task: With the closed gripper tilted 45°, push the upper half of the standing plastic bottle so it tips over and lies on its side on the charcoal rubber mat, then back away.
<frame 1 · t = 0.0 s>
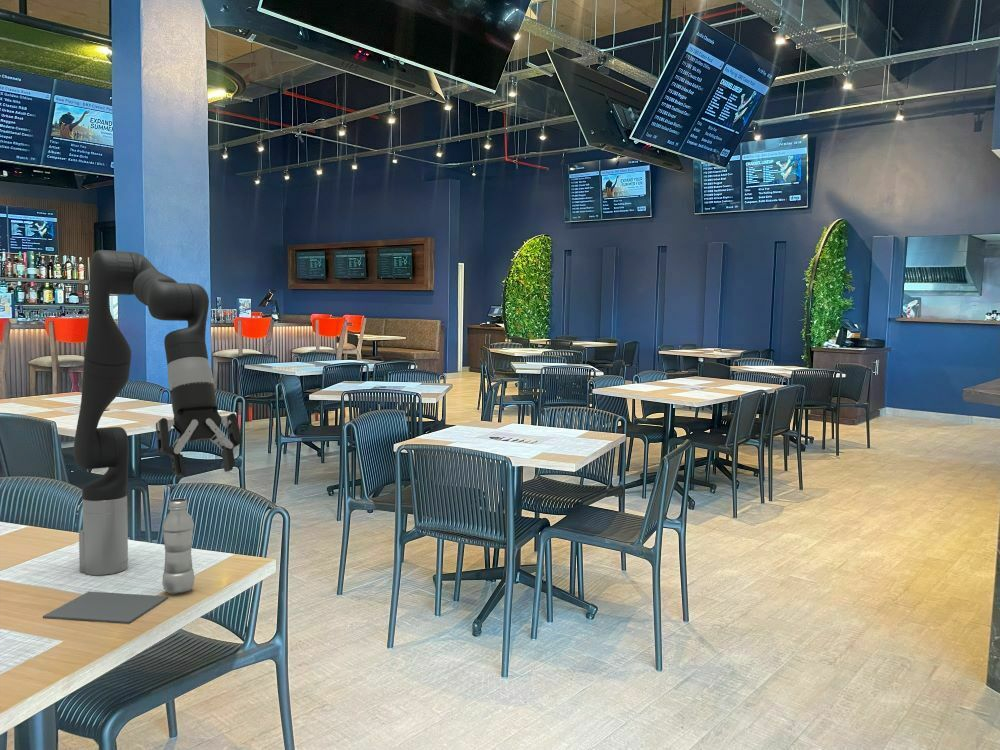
hand: (205, 473, 137), 31 cm above the table, tool tilted 20°, fingers open, 8 cm apart
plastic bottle: (178, 592, 166), on the table
rubber mat: (108, 607, 156), on the table
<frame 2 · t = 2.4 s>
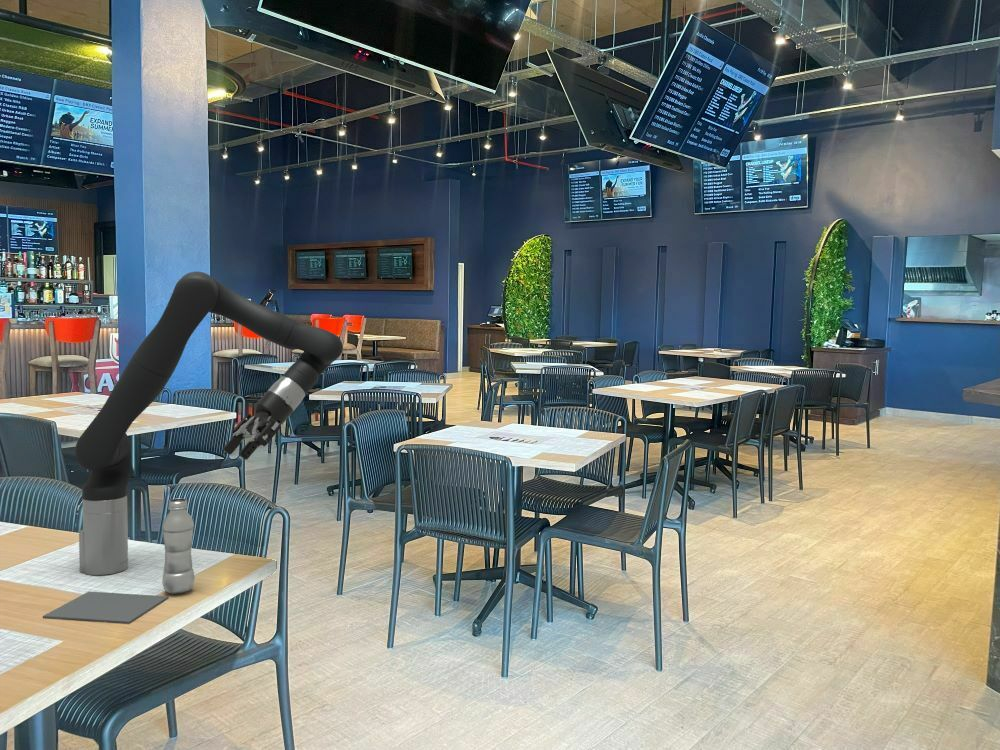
hand: (234, 454, 173), 29 cm above the table, tool tilted 45°, fingers open, 8 cm apart
nothing on the table moved.
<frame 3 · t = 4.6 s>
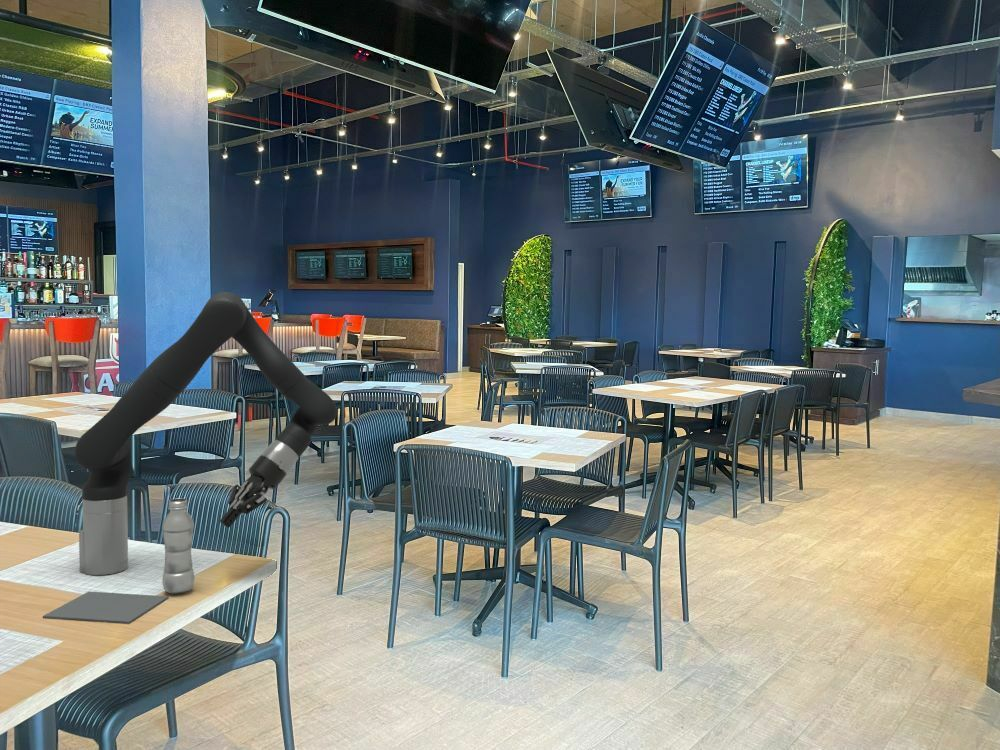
hand: (224, 524, 172), 13 cm above the table, tool tilted 45°, fingers closed
nothing on the table moved.
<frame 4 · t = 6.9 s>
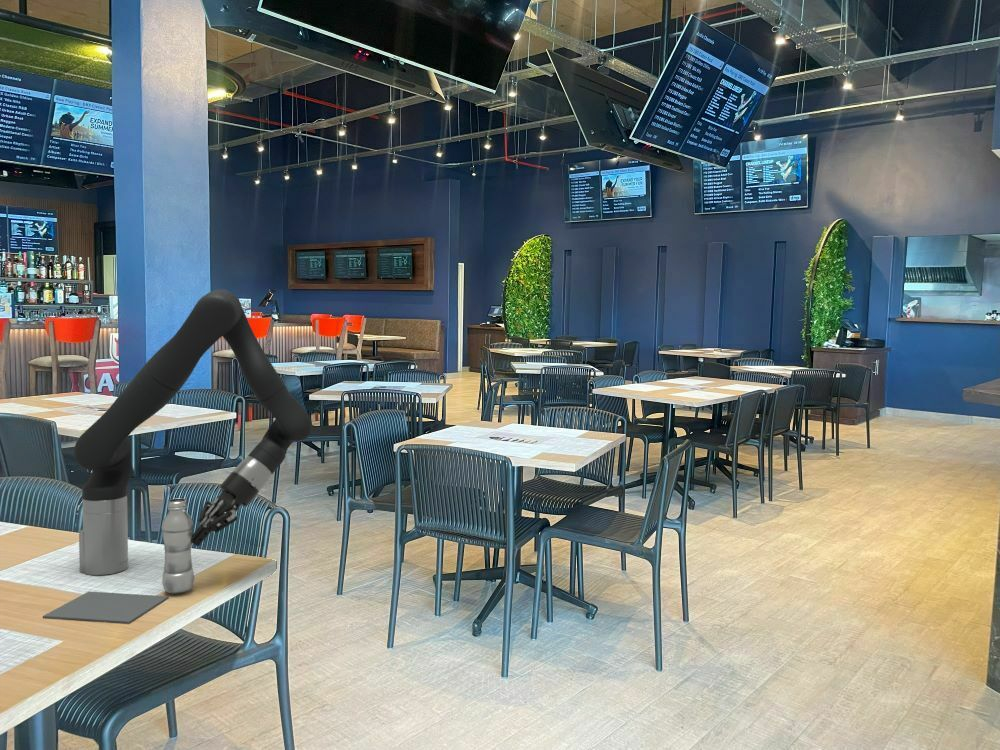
hand: (193, 543, 168), 10 cm above the table, tool tilted 45°, fingers closed
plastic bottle: (178, 592, 166), on the table, touching gripper
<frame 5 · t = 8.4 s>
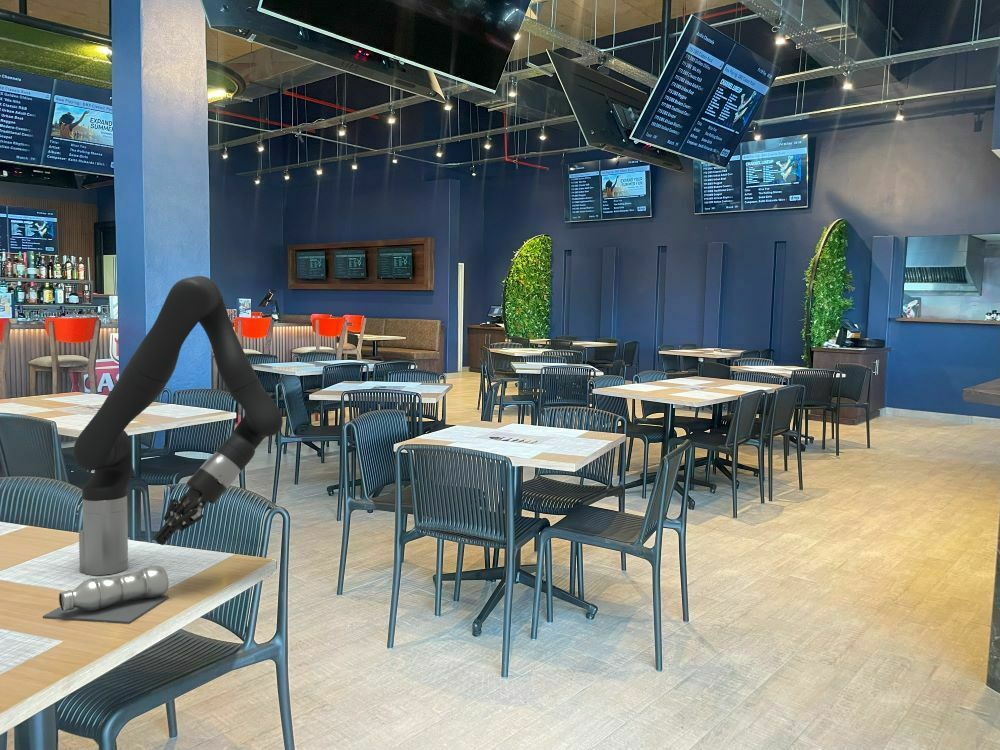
hand: (157, 542, 163), 12 cm above the table, tool tilted 45°, fingers closed
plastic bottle: (167, 578, 164), point 4 cm above the table, touching rubber mat
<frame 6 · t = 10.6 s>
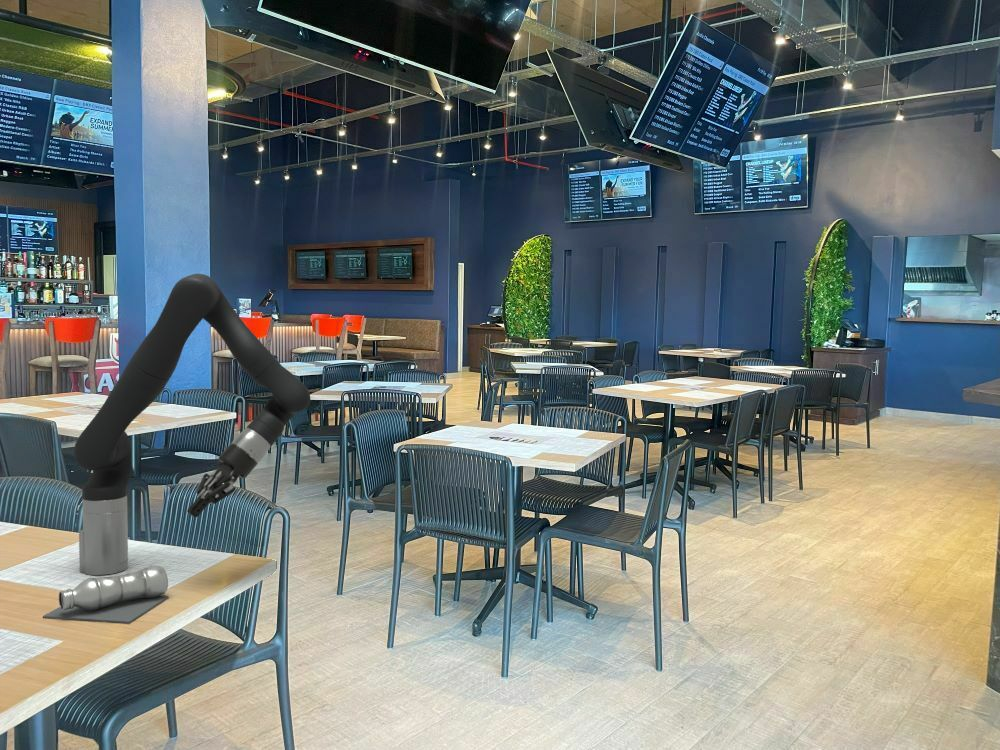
hand: (191, 514, 167), 16 cm above the table, tool tilted 45°, fingers closed
nothing on the table moved.
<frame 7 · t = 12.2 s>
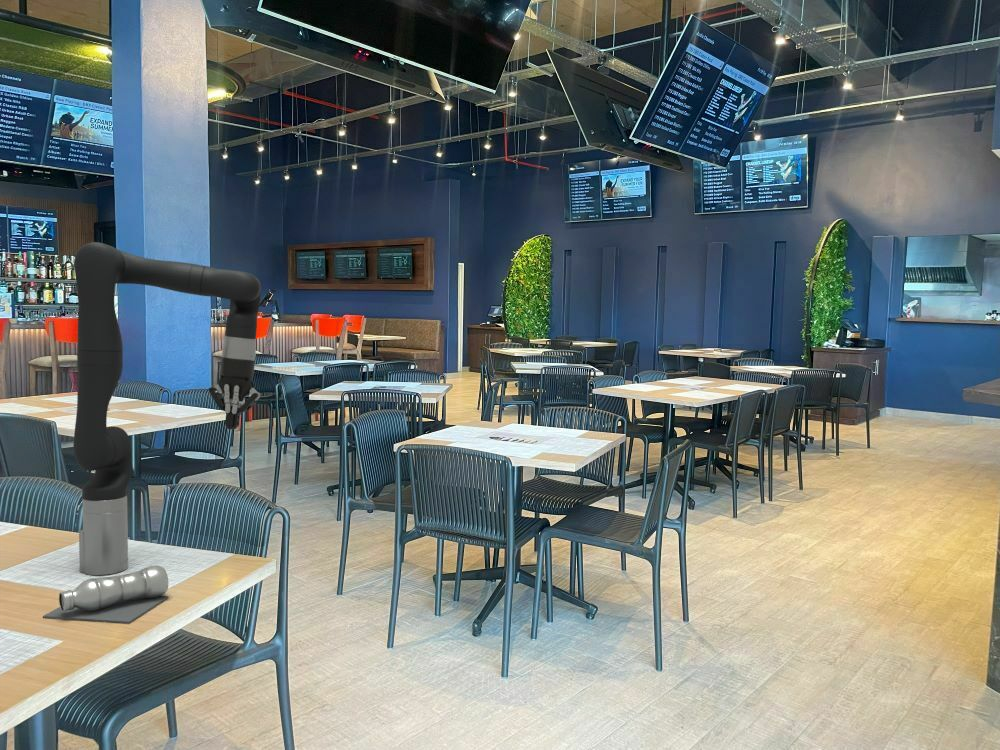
hand: (231, 428, 184), 33 cm above the table, tool pointing down, fingers closed
nothing on the table moved.
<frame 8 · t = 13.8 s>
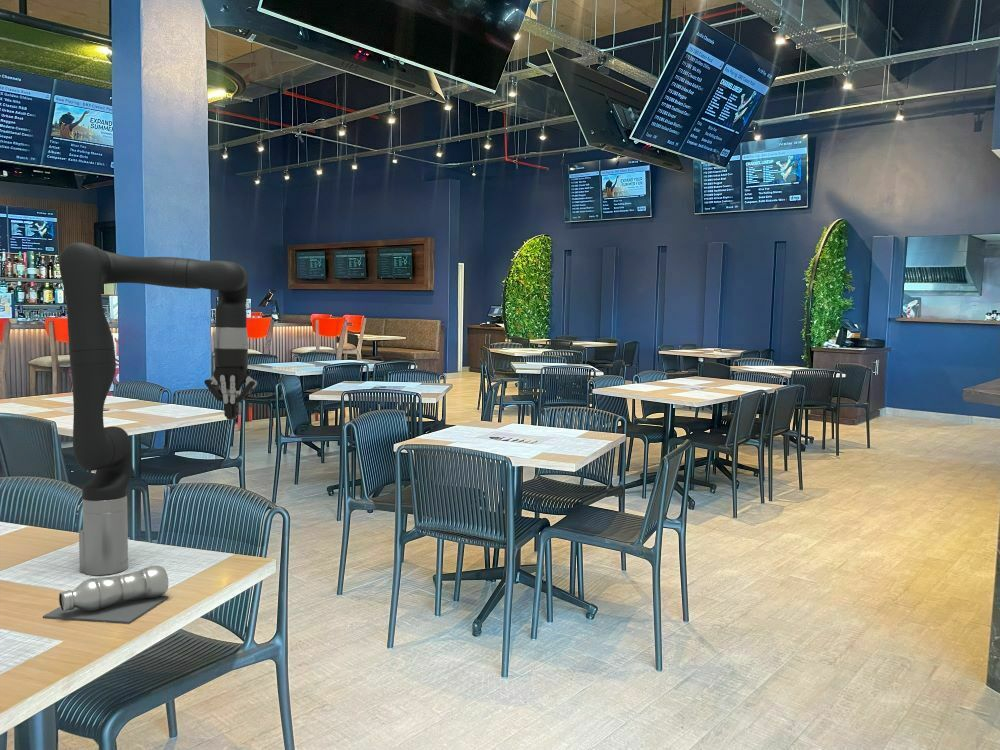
hand: (231, 418, 185), 35 cm above the table, tool pointing down, fingers closed
nothing on the table moved.
at the end: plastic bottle tilted 91°; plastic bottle touching rubber mat; the gripper is holding nothing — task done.
